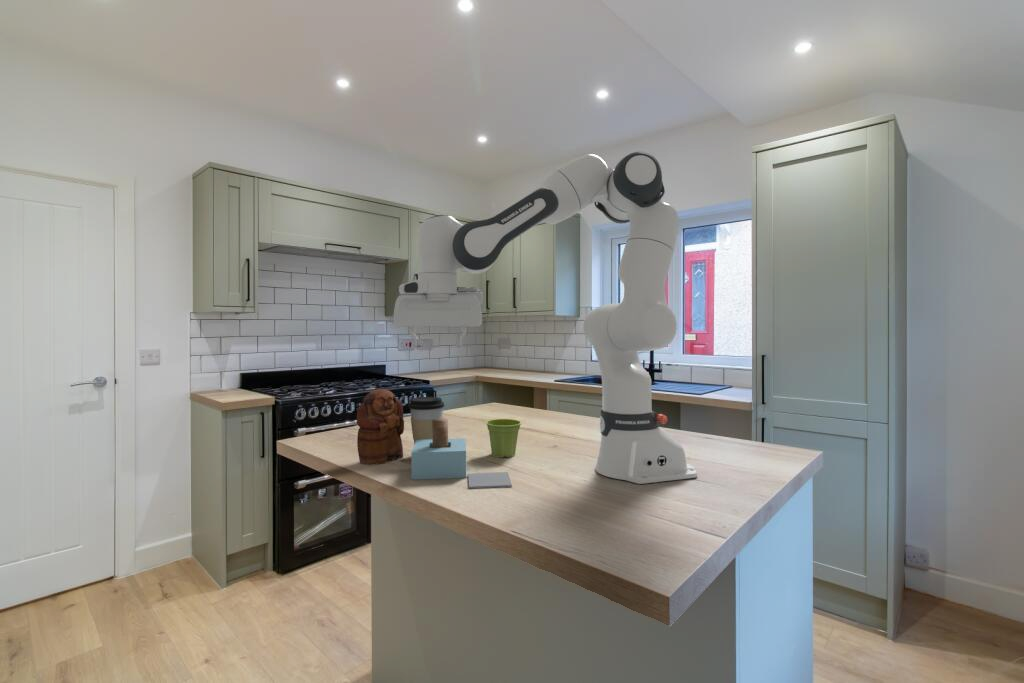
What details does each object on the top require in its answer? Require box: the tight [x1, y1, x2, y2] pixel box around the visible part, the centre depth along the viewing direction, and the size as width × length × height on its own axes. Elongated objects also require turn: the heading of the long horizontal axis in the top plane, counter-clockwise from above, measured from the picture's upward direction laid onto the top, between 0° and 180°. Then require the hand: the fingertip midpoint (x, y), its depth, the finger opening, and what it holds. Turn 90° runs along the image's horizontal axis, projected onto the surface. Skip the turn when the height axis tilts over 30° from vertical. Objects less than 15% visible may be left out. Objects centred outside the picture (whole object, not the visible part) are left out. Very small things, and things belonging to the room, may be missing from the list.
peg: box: [432, 417, 449, 448], centre depth 113 cm, size 4×4×12 cm
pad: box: [467, 471, 513, 489], centre depth 106 cm, size 9×9×1 cm
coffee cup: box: [407, 396, 446, 446], centre depth 126 cm, size 9×9×15 cm
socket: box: [410, 438, 467, 480], centre depth 113 cm, size 12×12×6 cm
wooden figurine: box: [356, 388, 405, 465], centre depth 123 cm, size 12×6×18 cm, turn 142°
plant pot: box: [485, 418, 522, 458], centre depth 127 cm, size 9×9×9 cm
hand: (438, 346), depth 113 cm, fingers open, 8 cm apart
